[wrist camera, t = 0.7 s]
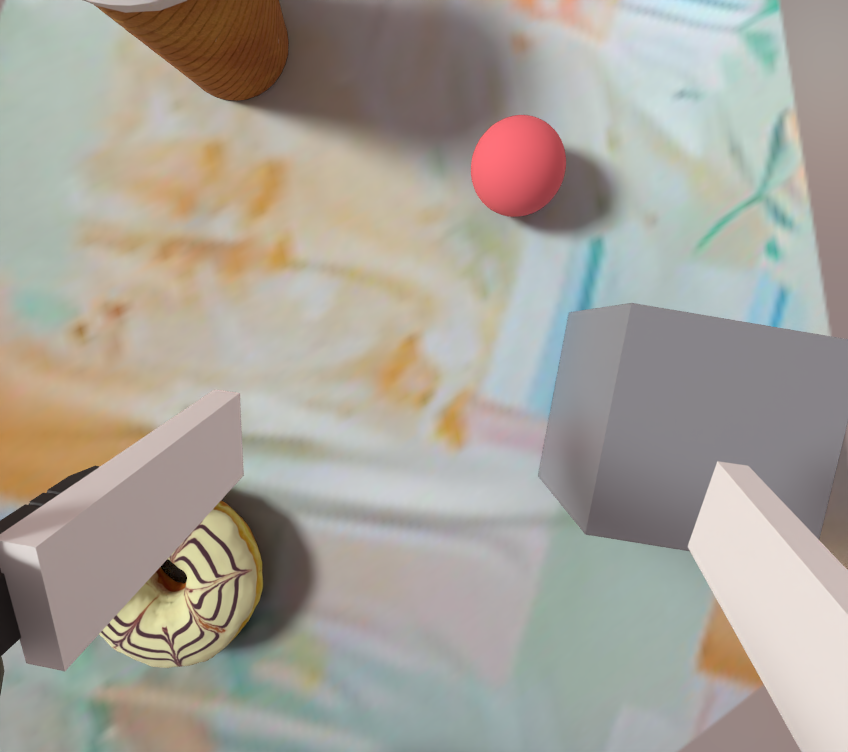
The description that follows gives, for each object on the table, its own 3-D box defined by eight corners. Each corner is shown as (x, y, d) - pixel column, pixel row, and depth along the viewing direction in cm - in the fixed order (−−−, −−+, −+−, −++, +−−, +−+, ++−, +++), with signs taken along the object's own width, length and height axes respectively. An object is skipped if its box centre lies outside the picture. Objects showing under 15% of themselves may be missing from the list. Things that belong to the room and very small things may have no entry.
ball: (543, 232, 29) (568, 210, 24) (460, 218, 29) (468, 193, 24) (558, 146, 28) (587, 105, 23) (474, 131, 28) (485, 88, 23)
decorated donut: (161, 442, 30) (124, 458, 26) (303, 539, 31) (287, 567, 27) (72, 574, 31) (23, 607, 27) (213, 666, 31) (184, 711, 28)
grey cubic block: (698, 502, 30) (811, 570, 21) (537, 475, 30) (585, 534, 21) (734, 340, 29) (866, 342, 21) (569, 312, 29) (631, 302, 20)
